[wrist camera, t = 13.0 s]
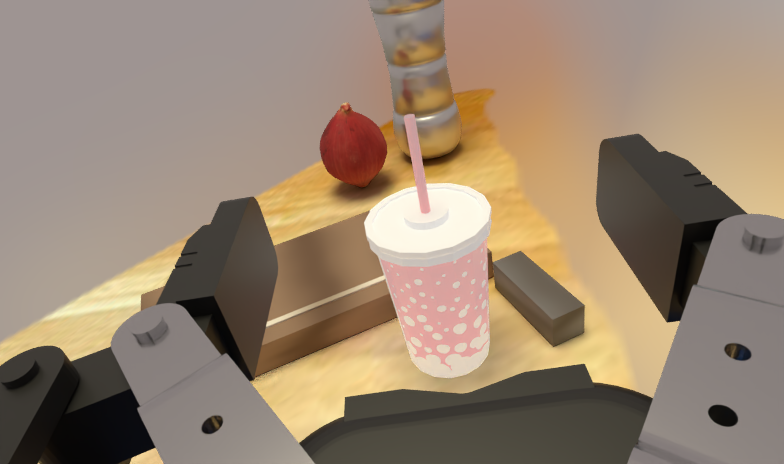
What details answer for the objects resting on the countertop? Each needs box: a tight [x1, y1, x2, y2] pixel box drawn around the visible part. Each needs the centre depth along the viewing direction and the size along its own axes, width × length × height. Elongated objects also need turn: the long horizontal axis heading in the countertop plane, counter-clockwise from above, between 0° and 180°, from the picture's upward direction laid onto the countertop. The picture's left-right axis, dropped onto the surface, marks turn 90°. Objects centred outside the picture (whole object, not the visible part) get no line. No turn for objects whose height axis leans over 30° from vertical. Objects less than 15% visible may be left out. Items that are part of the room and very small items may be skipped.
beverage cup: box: [364, 114, 492, 378], centre depth 26 cm, size 6×6×14 cm
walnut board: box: [141, 211, 585, 377], centre depth 33 cm, size 24×17×2 cm
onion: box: [320, 103, 387, 187], centre depth 46 cm, size 6×6×8 cm
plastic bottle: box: [369, 0, 461, 159], centre depth 46 cm, size 6×7×20 cm
